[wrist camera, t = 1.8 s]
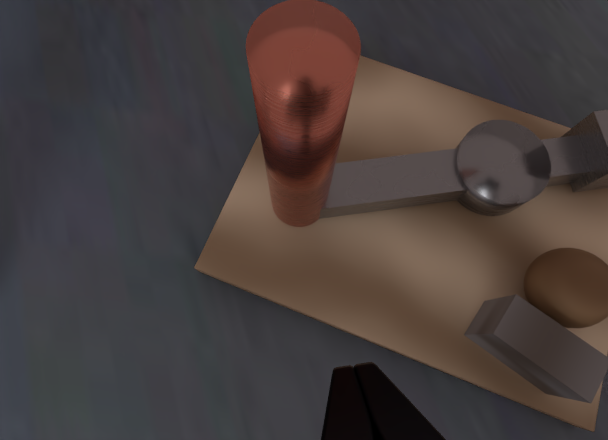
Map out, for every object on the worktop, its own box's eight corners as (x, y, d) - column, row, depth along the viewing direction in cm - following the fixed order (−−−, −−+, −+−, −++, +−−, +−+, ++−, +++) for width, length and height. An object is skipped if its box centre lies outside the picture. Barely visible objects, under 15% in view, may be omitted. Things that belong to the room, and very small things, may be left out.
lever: (592, 124, 22) (873, -81, 12) (620, 199, 21) (967, 48, 10) (266, 164, 21) (237, -20, 10) (277, 245, 20) (256, 132, 9)
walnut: (573, 341, 19) (634, 341, 16) (501, 312, 20) (544, 306, 16) (587, 271, 20) (646, 258, 17) (518, 245, 21) (562, 226, 17)
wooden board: (576, 426, 20) (649, 448, 15) (199, 271, 21) (177, 255, 17) (624, 162, 24) (692, 125, 20) (305, 50, 25) (307, -5, 21)
